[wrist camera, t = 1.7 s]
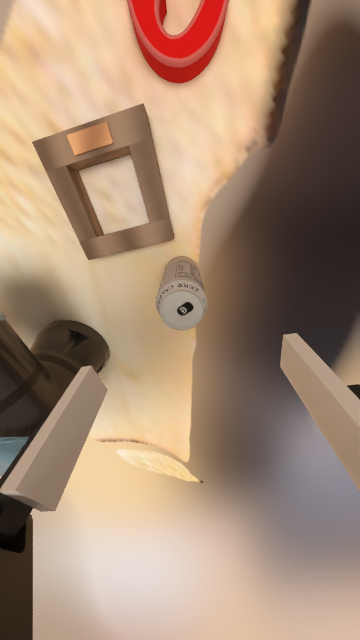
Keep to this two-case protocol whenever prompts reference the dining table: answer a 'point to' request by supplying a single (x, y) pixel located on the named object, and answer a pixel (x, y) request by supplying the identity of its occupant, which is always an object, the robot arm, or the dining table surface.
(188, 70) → the decorative ornament
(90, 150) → the frame
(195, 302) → the energy drink can
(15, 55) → the dining table surface
